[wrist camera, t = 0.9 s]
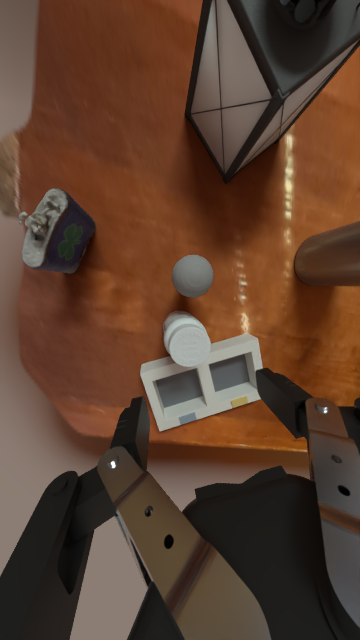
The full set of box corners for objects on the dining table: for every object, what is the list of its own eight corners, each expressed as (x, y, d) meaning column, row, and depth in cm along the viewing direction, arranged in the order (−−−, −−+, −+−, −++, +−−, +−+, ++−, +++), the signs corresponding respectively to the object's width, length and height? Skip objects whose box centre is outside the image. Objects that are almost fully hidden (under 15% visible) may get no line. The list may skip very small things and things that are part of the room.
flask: (75, 276, 28) (27, 271, 18) (56, 267, 28) (-5, 256, 17) (99, 223, 27) (63, 184, 17) (81, 212, 27) (31, 164, 16)
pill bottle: (189, 346, 33) (206, 376, 22) (158, 337, 32) (158, 365, 21) (200, 315, 32) (222, 330, 21) (167, 305, 31) (173, 316, 20)
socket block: (247, 333, 34) (258, 339, 30) (257, 386, 37) (268, 397, 33) (141, 364, 32) (139, 374, 29) (159, 417, 35) (159, 433, 31)
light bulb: (196, 297, 31) (213, 302, 22) (166, 291, 30) (170, 294, 21) (202, 266, 30) (224, 257, 21) (171, 258, 30) (179, 246, 20)
